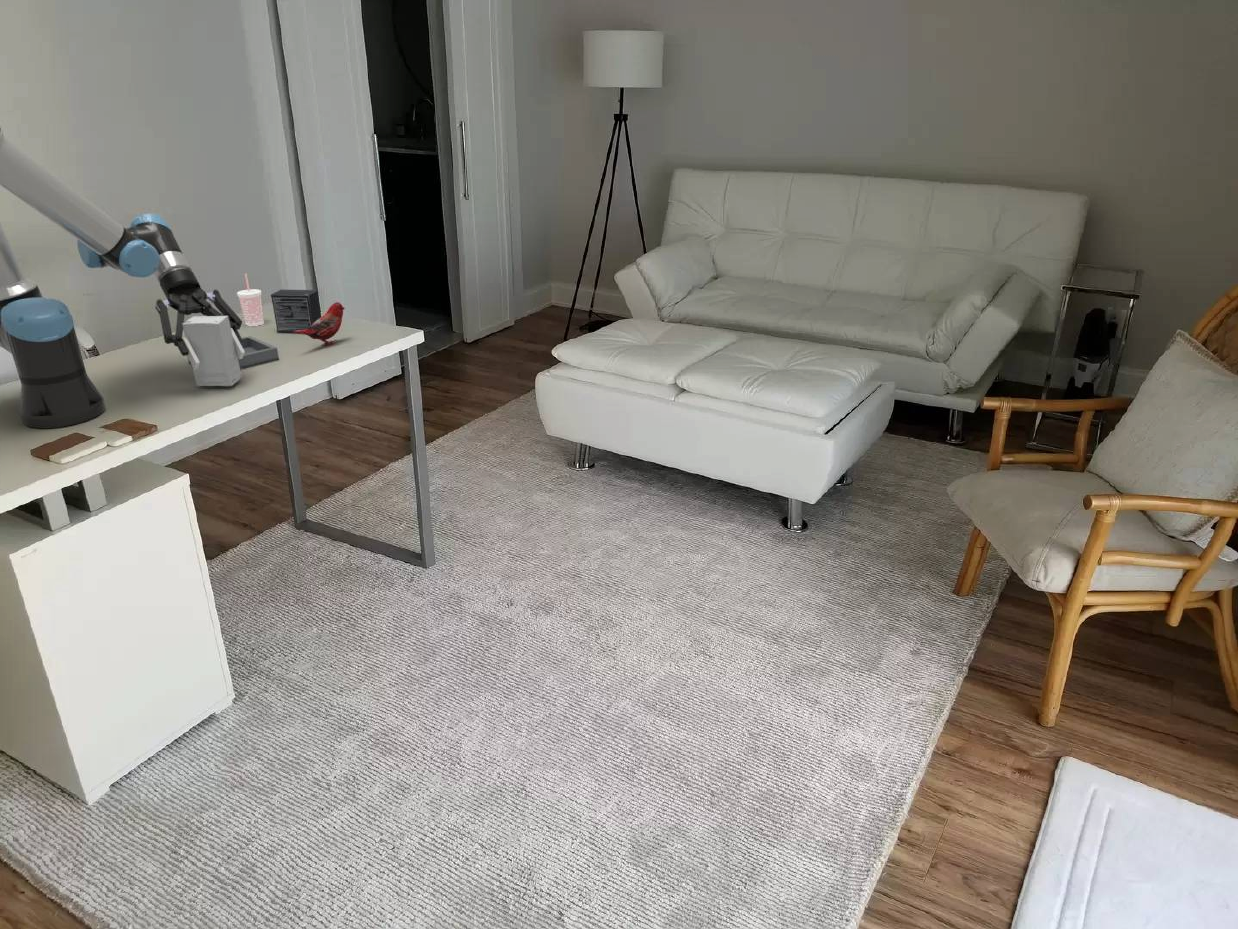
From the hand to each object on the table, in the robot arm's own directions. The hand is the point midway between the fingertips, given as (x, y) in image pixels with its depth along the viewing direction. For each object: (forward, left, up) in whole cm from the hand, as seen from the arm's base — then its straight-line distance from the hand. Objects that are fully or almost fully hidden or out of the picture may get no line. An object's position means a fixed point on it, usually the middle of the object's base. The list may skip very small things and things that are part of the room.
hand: (219, 360), depth 197 cm
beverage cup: (+28, +43, -7) cm, 52 cm away
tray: (+10, +17, -7) cm, 21 cm away
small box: (+34, +29, -7) cm, 45 cm away
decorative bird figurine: (+31, +12, -7) cm, 33 cm away
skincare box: (0, +3, -6) cm, 7 cm away
